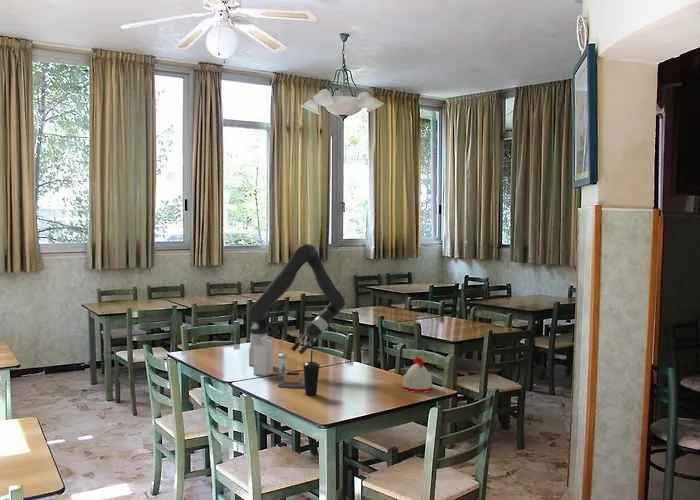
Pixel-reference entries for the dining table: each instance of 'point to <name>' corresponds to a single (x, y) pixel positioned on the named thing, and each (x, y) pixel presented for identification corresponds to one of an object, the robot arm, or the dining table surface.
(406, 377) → the kitchen timer
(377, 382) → the dining table surface
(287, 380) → the collar plate
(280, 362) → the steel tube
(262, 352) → the milk carton
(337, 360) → the dining table surface
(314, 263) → the robot arm
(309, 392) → the drinking cup
